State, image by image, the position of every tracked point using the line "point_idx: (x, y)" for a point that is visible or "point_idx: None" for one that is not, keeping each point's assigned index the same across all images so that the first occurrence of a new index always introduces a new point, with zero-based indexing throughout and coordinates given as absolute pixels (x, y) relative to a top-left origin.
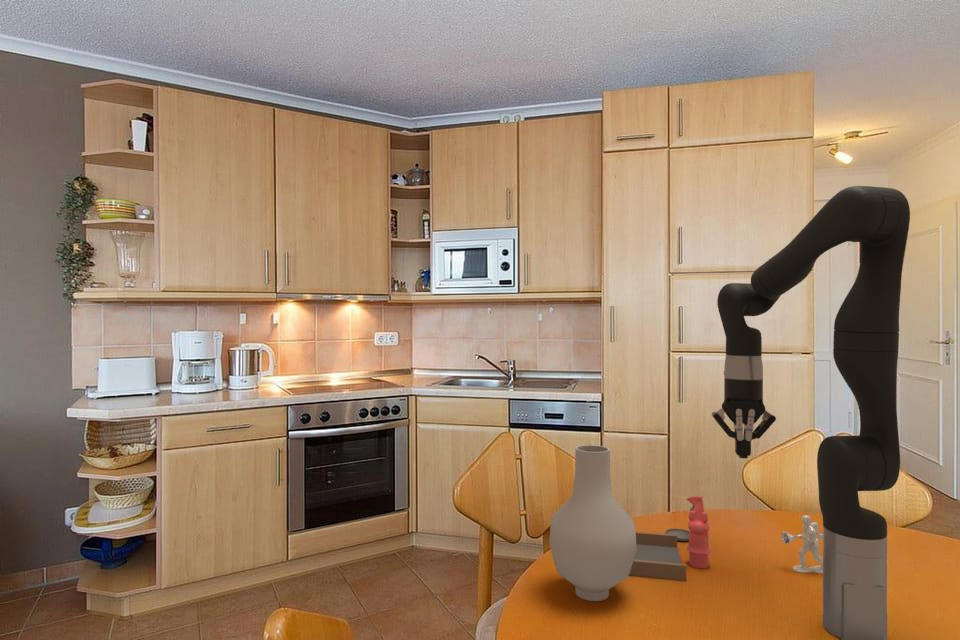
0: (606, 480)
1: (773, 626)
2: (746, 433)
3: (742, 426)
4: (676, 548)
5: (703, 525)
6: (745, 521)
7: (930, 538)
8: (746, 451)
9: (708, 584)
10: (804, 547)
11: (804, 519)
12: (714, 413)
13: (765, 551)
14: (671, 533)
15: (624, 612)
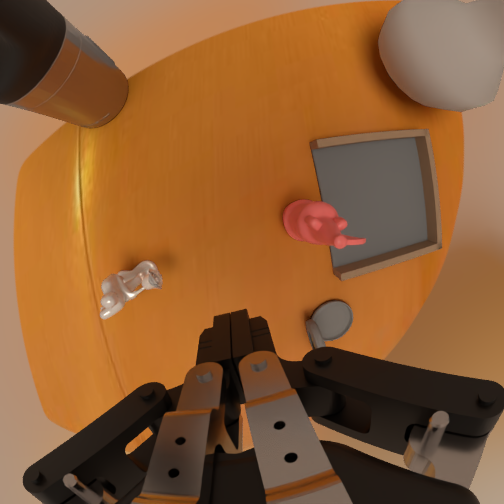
0: (486, 1)
1: (187, 57)
2: (217, 392)
3: (249, 417)
4: (334, 263)
5: (310, 208)
6: None
7: (57, 419)
8: (218, 328)
9: (276, 143)
10: (131, 282)
11: (111, 294)
12: (498, 418)
13: (200, 324)
14: (342, 325)
15: (358, 35)
